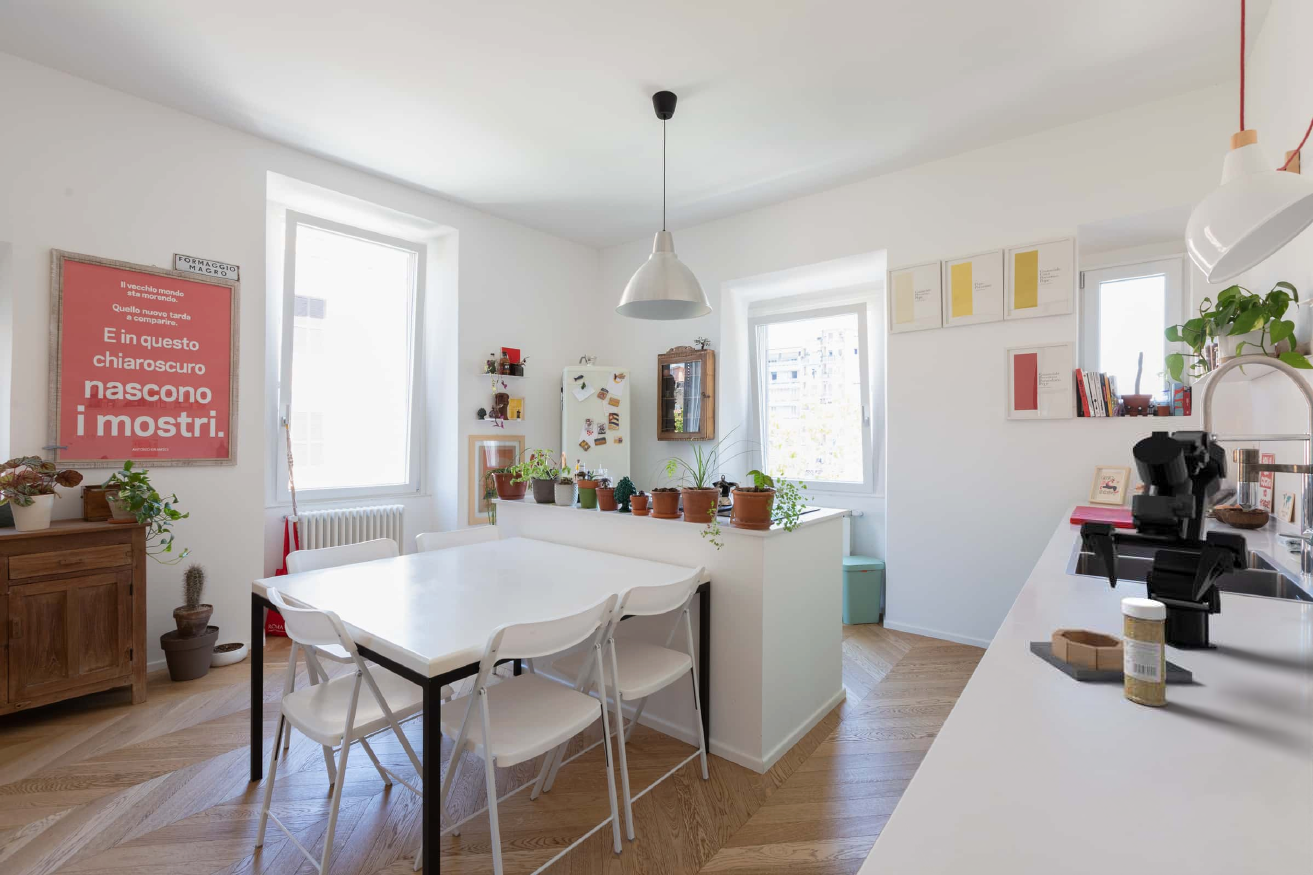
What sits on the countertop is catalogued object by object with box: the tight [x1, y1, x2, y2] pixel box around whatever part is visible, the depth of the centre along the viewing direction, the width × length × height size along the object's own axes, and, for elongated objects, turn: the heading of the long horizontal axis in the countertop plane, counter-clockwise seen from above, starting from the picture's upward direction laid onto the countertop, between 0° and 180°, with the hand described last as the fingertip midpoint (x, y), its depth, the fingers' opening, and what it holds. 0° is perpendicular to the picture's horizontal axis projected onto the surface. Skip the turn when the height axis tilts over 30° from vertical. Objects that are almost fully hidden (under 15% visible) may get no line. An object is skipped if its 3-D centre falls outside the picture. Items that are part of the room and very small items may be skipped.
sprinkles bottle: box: [1121, 597, 1167, 707], centre depth 79 cm, size 5×5×14 cm
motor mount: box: [1029, 628, 1193, 684], centre depth 91 cm, size 16×12×4 cm
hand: (1151, 592), depth 85 cm, fingers open, 9 cm apart
